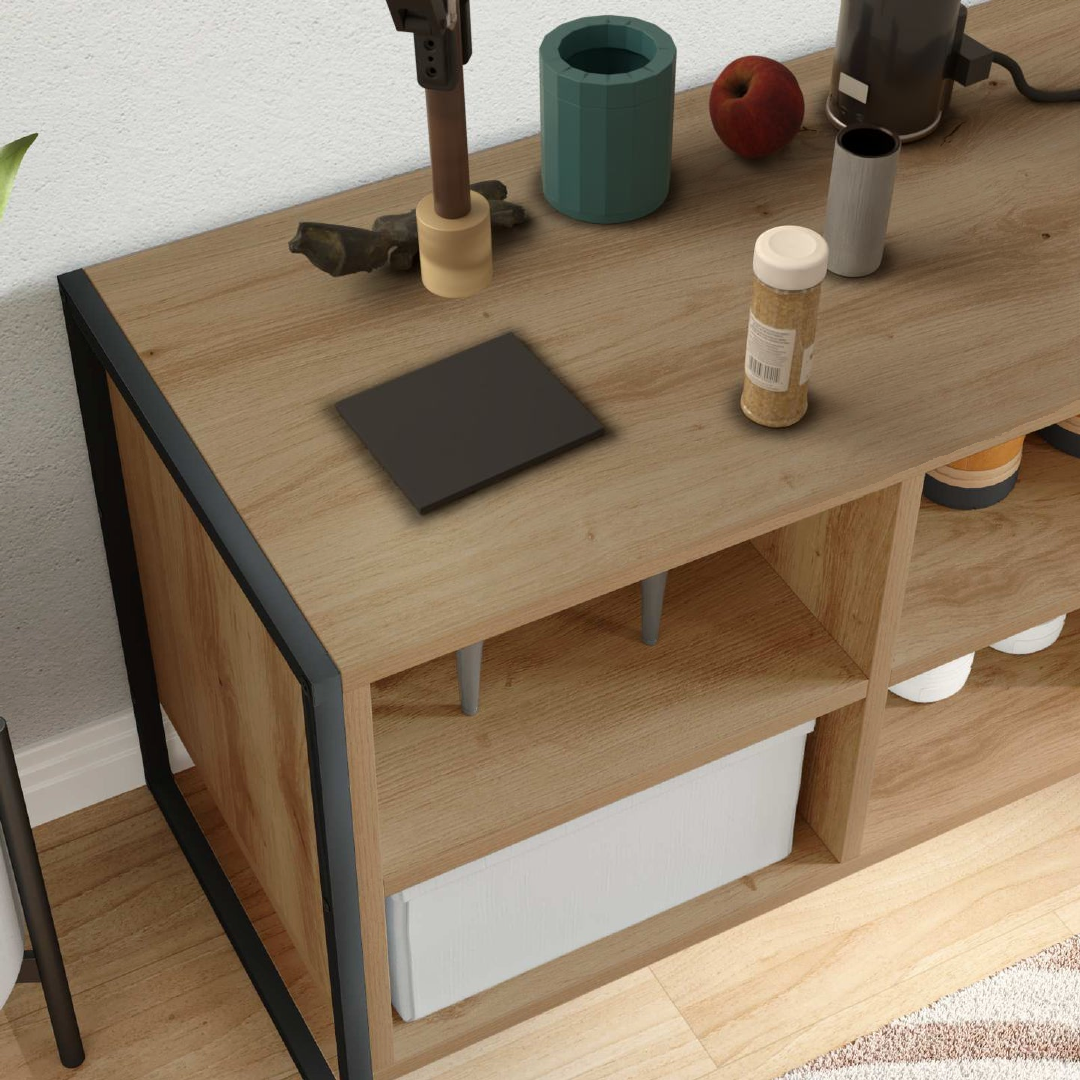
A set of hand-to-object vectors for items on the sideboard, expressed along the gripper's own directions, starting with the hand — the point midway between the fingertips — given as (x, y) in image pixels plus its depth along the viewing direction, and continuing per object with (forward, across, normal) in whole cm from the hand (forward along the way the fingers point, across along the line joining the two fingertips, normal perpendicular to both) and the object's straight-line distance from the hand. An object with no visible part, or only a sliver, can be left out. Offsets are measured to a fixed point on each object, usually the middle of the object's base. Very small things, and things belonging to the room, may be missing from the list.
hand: (445, 72), depth 87 cm
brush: (+14, 0, 0) cm, 14 cm away
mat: (+26, 0, 0) cm, 26 cm away
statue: (+26, +16, +9) cm, 32 cm away
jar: (+26, +29, -4) cm, 39 cm away
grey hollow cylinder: (+26, +23, -23) cm, 42 cm away
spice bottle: (+26, +6, -20) cm, 33 cm away
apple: (+26, +37, -14) cm, 47 cm away
